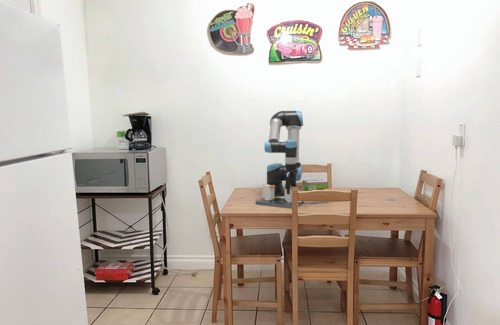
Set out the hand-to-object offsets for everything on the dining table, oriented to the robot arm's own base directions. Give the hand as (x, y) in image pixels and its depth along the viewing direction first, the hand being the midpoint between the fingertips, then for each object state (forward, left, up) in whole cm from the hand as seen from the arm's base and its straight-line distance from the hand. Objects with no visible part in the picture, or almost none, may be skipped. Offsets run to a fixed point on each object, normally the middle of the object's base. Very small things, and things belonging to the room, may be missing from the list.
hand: (290, 197), depth 232 cm
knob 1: (0, -16, -3) cm, 16 cm away
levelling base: (0, -8, -5) cm, 9 cm away
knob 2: (0, 0, -3) cm, 3 cm away
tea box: (-16, +12, -5) cm, 21 cm away
